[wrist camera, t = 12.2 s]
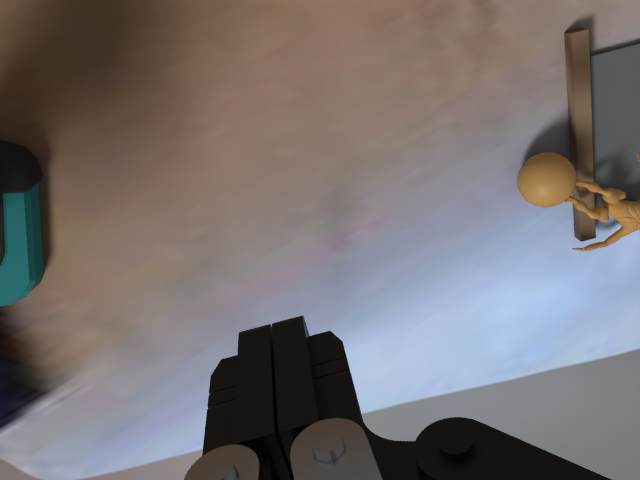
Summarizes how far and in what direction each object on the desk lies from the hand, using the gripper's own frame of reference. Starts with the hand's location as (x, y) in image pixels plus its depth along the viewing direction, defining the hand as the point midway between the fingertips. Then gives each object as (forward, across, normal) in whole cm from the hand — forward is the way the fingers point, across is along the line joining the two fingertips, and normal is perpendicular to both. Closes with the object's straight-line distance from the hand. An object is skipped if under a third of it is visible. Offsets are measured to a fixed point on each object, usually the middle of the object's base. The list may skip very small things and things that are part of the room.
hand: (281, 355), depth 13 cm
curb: (+29, -22, +8) cm, 37 cm away
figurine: (+28, -17, +8) cm, 34 cm away
